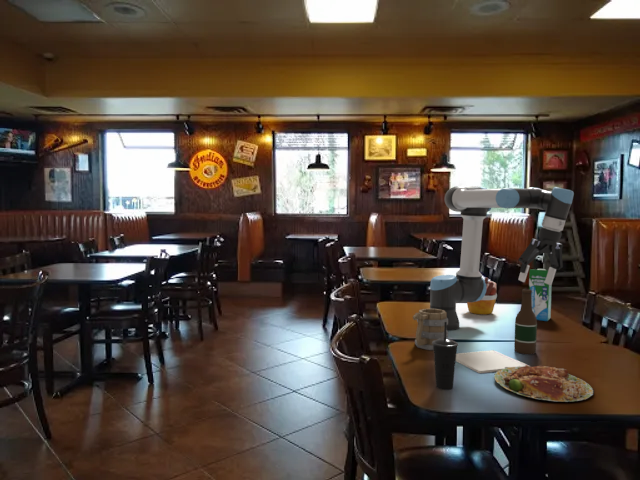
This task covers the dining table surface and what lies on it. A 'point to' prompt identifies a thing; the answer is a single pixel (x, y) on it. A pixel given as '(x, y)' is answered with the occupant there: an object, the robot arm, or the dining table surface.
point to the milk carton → (540, 294)
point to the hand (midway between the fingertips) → (534, 282)
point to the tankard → (429, 327)
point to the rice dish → (544, 383)
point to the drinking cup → (444, 361)
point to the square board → (487, 361)
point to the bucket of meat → (484, 300)
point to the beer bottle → (525, 326)
